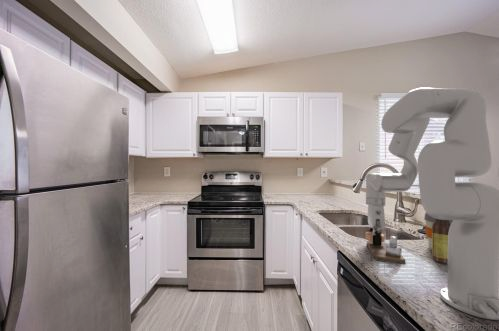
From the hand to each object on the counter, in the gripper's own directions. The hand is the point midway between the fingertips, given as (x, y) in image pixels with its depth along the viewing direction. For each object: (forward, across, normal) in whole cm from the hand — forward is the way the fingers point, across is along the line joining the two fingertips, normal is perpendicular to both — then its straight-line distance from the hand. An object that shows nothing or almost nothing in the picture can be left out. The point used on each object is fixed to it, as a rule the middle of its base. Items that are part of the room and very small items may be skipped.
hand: (374, 241), depth 100 cm
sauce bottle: (+3, -7, -22) cm, 23 cm away
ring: (-1, 0, 0) cm, 1 cm away
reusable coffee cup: (+3, +7, -28) cm, 28 cm away
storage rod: (+1, -11, -4) cm, 12 cm away
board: (+3, -6, -2) cm, 7 cm away
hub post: (+1, 0, 0) cm, 1 cm away
